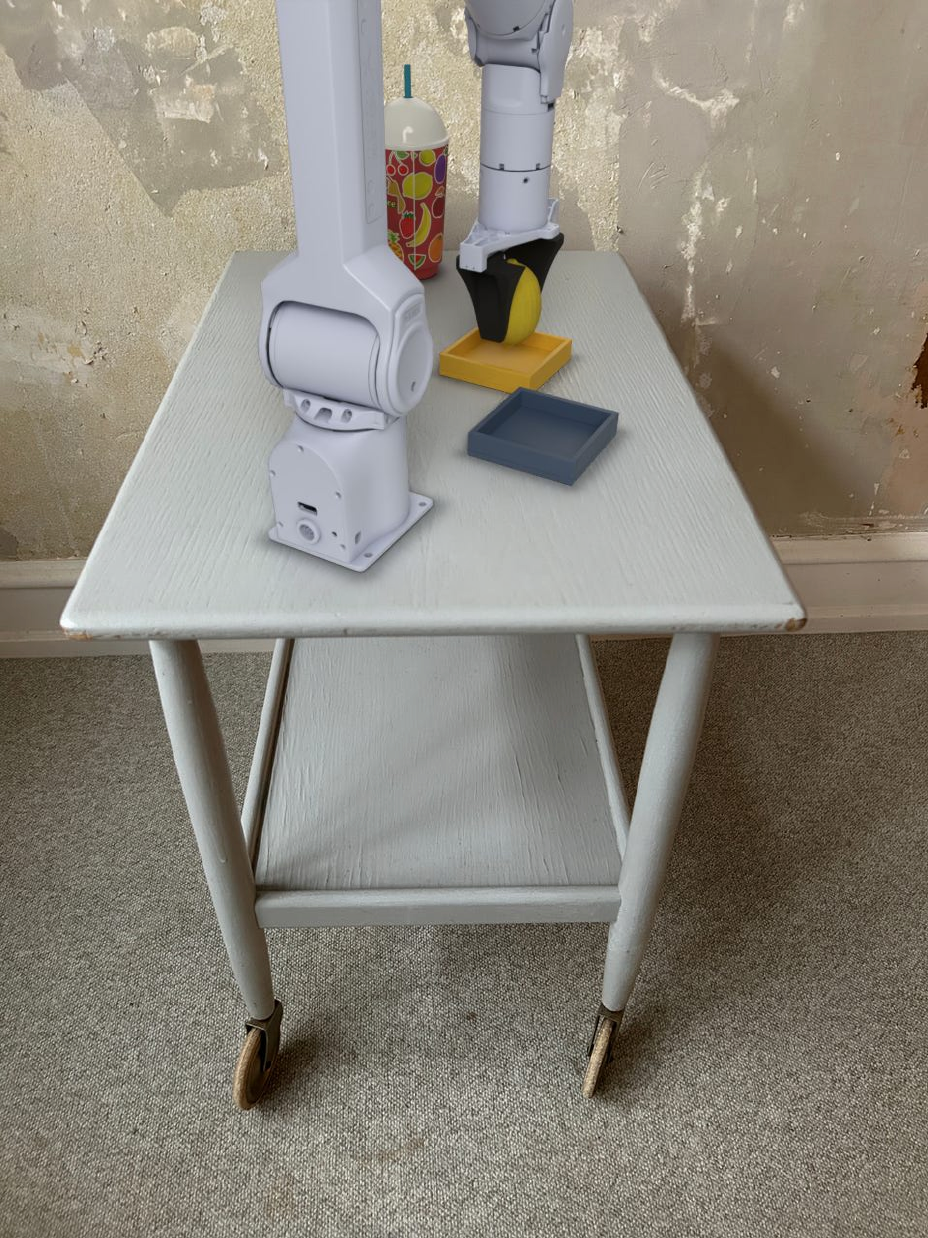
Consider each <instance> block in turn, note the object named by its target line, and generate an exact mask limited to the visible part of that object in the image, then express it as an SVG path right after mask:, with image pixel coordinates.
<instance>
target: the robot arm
mask: <svg viewBox="0 0 928 1238" xmlns="http://www.w3.org/2000/svg"><path fill="white" fill-rule="evenodd" d="M274 3H275V4H274V5H275V14H276V24H277V25H276V26H277V37H278V48H279V58H280V59H279V60H280V69H281V70H280V71H281V80H282V90H283V91H282V92H283V102H284V112H285V113H284V114H285V125H286V135H287V147H288V148H287V149H288V157H289V159H288V160H289V167H290V180H291V191H292V192H291V193H292V202H293V212H294V213H293V214H294V223H295V224H294V225H295V234H296V235H295V236H296V249H294V250H292V251H291V252H290V253H289V254H287V255H286V256H285V257H284V258H283V259H281V260H280V261H279V262H278V263H276V264H275V265H274V266H273V267H271V269H270V270H269V271H268V272H267V274H266V275H265V276H264V277H263V279H262V280H261V282H260V284H259V286H260V296H261V313H260V314H261V315H260V323H259V326H258V330H257V331H258V333H257V345H256V346H257V354H258V359H259V364H260V368H261V370H262V373H263V376H264V377H265V379H266V380H267V381H268V382H269V384H271V385H272V386H274V388H277V389H280V390H282V398H283V405H284V407H285V406H286V407H288V408H291V409H292V410H293V414H292V420H291V423H290V425H289V427H288V429H287V431H286V433H285V434H284V436H283V437H282V438H281V440H279V442H278V443H276V444H275V446H273V448H272V450H270V453H269V455H268V458H267V474H268V482H269V487H270V488H269V489H270V494H271V501H272V507H273V514H274V522H275V525H274V526H273V527H272V528H270V529H269V530H268V531H267V535H268V538H269V540H271V541H274V542H276V543H279V544H282V545H285V546H287V547H291V548H293V549H295V550H298V551H301V552H304V553H307V554H309V555H311V556H315V557H317V558H320V559H323V560H326V561H328V562H331V563H333V564H336V565H339V566H342V567H343V568H344V567H345V568H347V569H349V570H352V571H354V572H359V573H360V572H361V573H362V572H365V571H366V570H368V569H369V567H371V566H372V565H373V564H374V563H375V562H376V561H377V560H378V559H380V557H382V555H383V554H385V552H386V551H388V549H389V548H391V547H392V546H393V544H395V543H396V542H397V541H398V540H399V539H400V538H401V537H402V536H403V535H404V534H406V532H407V531H408V530H410V529H411V528H412V527H413V526H414V525H415V524H416V523H417V522H418V521H419V520H420V519H421V518H422V517H423V516H425V514H426V513H427V512H429V510H430V509H432V508H433V506H434V501H433V498H431V497H428V496H425V495H422V494H419V493H415V492H412V491H410V490H409V488H410V487H409V462H408V459H409V458H408V433H407V432H408V431H407V430H408V429H407V415H408V414H409V413H410V412H412V411H413V409H414V408H415V407H416V406H417V405H418V404H420V402H421V401H422V399H423V397H424V396H425V393H426V392H427V389H428V387H429V384H430V381H431V377H432V373H433V367H434V359H435V344H434V338H433V334H432V332H431V328H430V326H429V321H428V316H427V308H426V307H427V306H426V298H425V287H424V284H423V283H422V282H421V280H418V279H417V278H416V276H415V275H414V274H413V273H412V272H411V271H410V270H409V269H408V268H407V267H406V265H405V264H404V263H403V262H402V261H401V260H400V259H399V258H398V257H397V256H396V255H395V253H394V252H393V251H392V250H391V249H390V247H389V246H388V229H387V194H386V159H385V124H384V106H385V94H384V93H385V92H384V91H385V90H384V59H383V56H384V55H383V27H382V25H383V24H382V22H383V21H382V0H275V1H274ZM463 3H464V4H465V6H464V10H463V16H464V22H465V25H466V29H467V45H468V52H469V56H470V60H471V61H472V62H474V64H475V65H476V66H477V67H478V68H482V69H481V83H480V84H481V85H480V86H481V87H480V88H481V89H480V91H481V92H480V127H479V129H480V130H479V132H480V133H479V169H478V170H479V173H478V174H479V175H478V176H479V177H478V181H479V182H478V215H477V217H476V218H475V220H474V223H473V224H472V226H471V229H470V230H469V233H468V235H467V237H466V238H465V240H463V241H461V242H460V243H459V254H458V255H456V257H455V269H456V271H457V273H458V274H459V276H460V278H461V279H462V282H463V283H464V286H465V288H466V290H467V292H468V294H469V297H470V300H471V303H472V307H473V310H474V316H475V319H476V324H477V326H478V329H479V333H480V337H481V339H485V340H489V341H493V342H497V343H502V342H503V341H504V340H505V337H506V334H507V330H508V324H509V318H510V311H511V305H512V301H513V297H514V293H515V290H516V287H517V285H518V282H519V280H520V278H521V276H522V274H523V272H524V270H525V268H526V267H528V268H529V269H530V270H531V271H532V272H533V273H534V275H535V276H536V278H537V280H538V283H539V286H540V292H541V294H543V290H544V287H545V283H546V280H547V277H548V274H549V273H550V269H551V267H552V264H553V262H554V260H555V259H556V256H557V255H558V253H559V251H560V250H561V248H562V247H563V245H564V243H565V234H564V233H563V232H561V231H560V230H561V226H560V224H558V222H559V213H560V203H561V201H560V200H561V199H560V198H556V197H555V198H554V197H550V186H551V173H552V159H553V145H554V131H555V130H554V129H555V118H556V116H555V115H556V103H557V99H558V98H560V97H561V96H562V93H563V88H564V83H565V82H564V80H565V70H566V65H567V61H568V58H569V54H570V50H571V46H572V41H573V34H574V24H575V23H574V5H573V0H463ZM509 259H516V260H517V262H518V263H521V264H523V265H525V266H526V267H525V266H521V265H516V264H512V263H507V261H508V260H509Z"/></svg>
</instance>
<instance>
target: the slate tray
mask: <svg viewBox="0 0 928 1238" xmlns="http://www.w3.org/2000/svg"><path fill="white" fill-rule="evenodd" d="M619 416H620V412H618V411H614V410H611V409H606V408H602V407H598V406H595V405H591V404H588V403H585V402H580V401H576V400H572V399H568V398H564V397H561V396H557V395H553V394H550V393H545V392H541V391H538V390H537V391H534V390H530V389H527V388H523V387H519V388H517V389H516V390H515V391H514V392H513V393H512V394H511V393H510V394H509V396H507V397H506V398H504V400H503V401H502V402H501V403H499V404H498V405H497V406H496V407H495V408H494V409H493V410H492V411H490V412H489V413H488V414H487V415H486V416H484V418H483V419H481V420H480V421H479V422H478V423H477V424H476V425H475V426H473V427H472V428H471V429H470V430H469V431H468V432H467V455H468V456H471V457H474V458H476V459H477V458H478V459H481V460H484V461H487V462H490V463H494V464H497V465H501V466H504V467H507V468H511V469H514V470H517V471H521V472H524V473H527V474H530V475H534V476H538V477H541V478H543V479H544V478H545V479H548V480H551V481H555V482H557V483H561V484H564V485H567V486H573V485H574V484H575V482H577V481H578V479H579V478H580V477H581V476H582V474H583V473H584V472H585V471H586V470H587V469H588V467H589V466H590V465H591V464H592V462H593V461H595V459H596V458H597V457H598V456H599V455H600V454H601V452H602V451H603V450H604V449H605V448H606V447H607V446H608V444H609V443H610V442H611V441H612V440H613V439H614V438H615V436H616V435H617V432H618V431H617V429H618V423H619Z"/></svg>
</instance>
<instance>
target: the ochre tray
mask: <svg viewBox="0 0 928 1238" xmlns="http://www.w3.org/2000/svg"><path fill="white" fill-rule="evenodd" d="M572 345H573V339H572V338H568V337H565V336H560V335H556V334H552V333H548V332H544V331H539V330H536V329H535V330H534V332H533V333H532V335H531V336H530V337H528V338H527V339H526V340H525V341H523V342H521V343H518V344H515V345H514V346H513V347H512V348H511V349H505V348H504V347H503V346H502V344H501V343H497V342H493V341H489V340H485V339H481V337H480V333H479V329H478V325H476V326H475V327H474V328H472V329H471V330H470V331H468V332H467V333H466V334H464V335H463V336H461V337H460V338H459V339H457V340H456V341H454V342H453V343H452V344H450V345H449V346H447V348H445V349H444V350H442V351H440V353H439V369H438V370H439V371H438V372H439V375H440V376H443V377H446V378H450V379H455V380H458V381H459V380H460V381H463V382H466V383H470V384H473V385H476V386H477V385H478V386H482V387H484V388H489V389H493V390H496V391H500V392H504V393H508V394H510V395H511V394H512V393H513V392H514V391H515V390H516V389H517V388H519V387H523V388H527V389H530V390H534V391H538V390H539V389H540V388H541V387H542V386H543V385H544V384H545V383H546V382H548V381H549V380H550V379H551V378H552V377H553V376H554V375H555V374H556V373H558V371H560V370H561V369H562V367H564V366H565V365H566V364H567V363H568V362H569V361H570V360H571V356H572Z"/></svg>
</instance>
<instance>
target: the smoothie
mask: <svg viewBox="0 0 928 1238" xmlns="http://www.w3.org/2000/svg"><path fill="white" fill-rule="evenodd" d="M403 85H404V87H403V88H404V95H401V96H398V97H396V98H394V99H392V100H390V101H389V102H387V103H386V104H384V124H385V159H386V194H387V229H388V246H389V247H390V249H391V250H392V251H393V252H394V253H395V255H396V256H397V257H398V258H399V259H400V260H401V261H402V262H403V263H404V264H405V265H406V267H407V268H408V269H409V270H410V271H411V272H412V273H413V274H414V275H415V276H416V278H417V279H418V280H419V281H421V280H425V279H429V278H431V277H433V276H435V275H436V274H437V273H438V269H439V265H440V264H441V263H442V262H443V250H444V235H445V234H444V232H445V217H446V216H445V215H446V199H447V198H446V197H447V184H448V183H447V181H448V179H447V178H448V165H449V143H450V138H451V136H450V135H451V134H449V133H448V132H447V130H446V127H445V124H444V121H443V119H442V118H441V116H440V114H439V112H438V111H437V109H435V107H433V106H432V105H431V104H430V103H429V102H427V101H426V100H425V99H422V98H420V97H418V96H414V95H412V66H411V64H410V63H409V64H408V63H405V64H403Z"/></svg>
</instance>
